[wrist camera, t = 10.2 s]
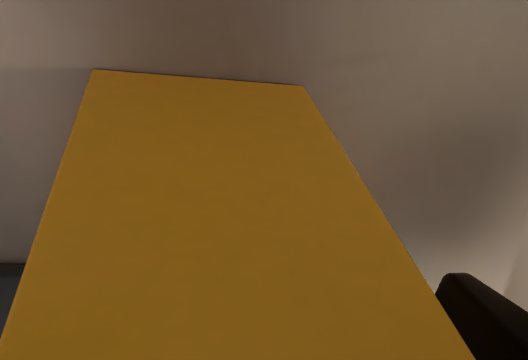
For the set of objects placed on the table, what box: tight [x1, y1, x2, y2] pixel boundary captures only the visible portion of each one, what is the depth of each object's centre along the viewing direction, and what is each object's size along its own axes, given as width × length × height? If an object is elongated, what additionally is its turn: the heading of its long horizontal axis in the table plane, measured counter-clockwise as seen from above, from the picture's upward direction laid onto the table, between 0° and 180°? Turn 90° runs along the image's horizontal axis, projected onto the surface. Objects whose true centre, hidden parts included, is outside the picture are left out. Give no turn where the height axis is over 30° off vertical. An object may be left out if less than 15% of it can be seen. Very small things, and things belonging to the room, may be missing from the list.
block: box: [0, 69, 476, 360], centre depth 8 cm, size 4×4×9 cm
